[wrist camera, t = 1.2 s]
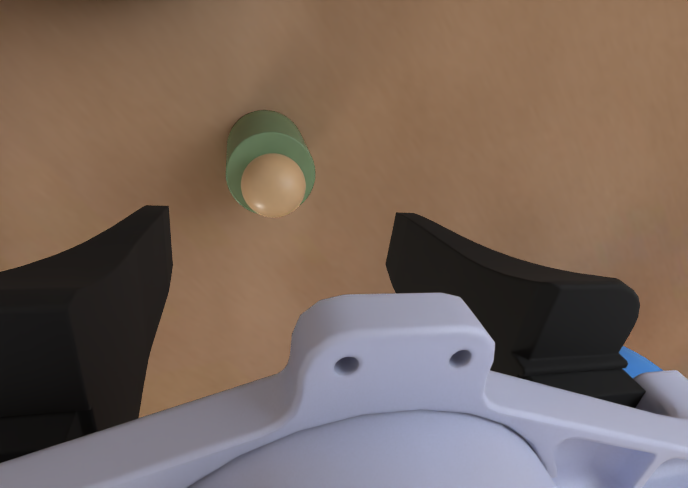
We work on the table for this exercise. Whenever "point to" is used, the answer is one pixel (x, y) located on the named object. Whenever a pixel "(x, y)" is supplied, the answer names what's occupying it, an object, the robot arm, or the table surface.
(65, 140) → the table surface
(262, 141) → the green cylinder with ball
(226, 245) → the table surface
